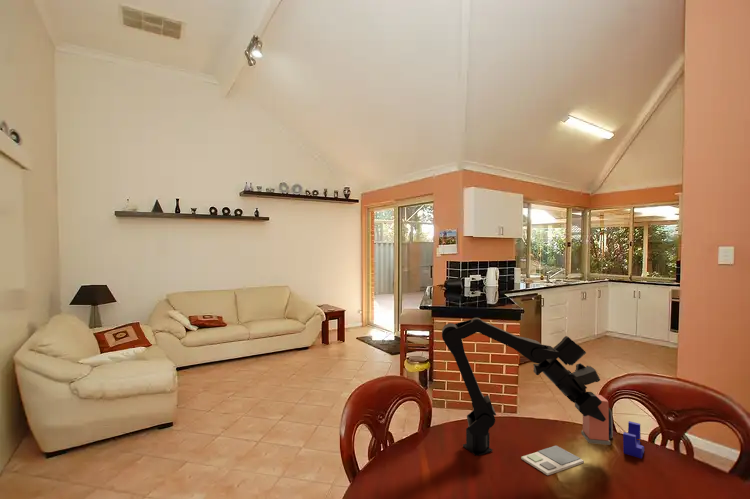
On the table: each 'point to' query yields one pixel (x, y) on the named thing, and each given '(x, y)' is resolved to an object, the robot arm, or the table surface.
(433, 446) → the table surface
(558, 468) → the panel board
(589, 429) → the salmon block on plinth
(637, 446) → the blue cradle bracket
